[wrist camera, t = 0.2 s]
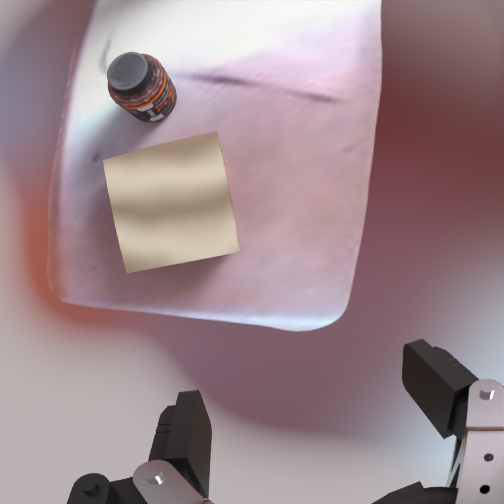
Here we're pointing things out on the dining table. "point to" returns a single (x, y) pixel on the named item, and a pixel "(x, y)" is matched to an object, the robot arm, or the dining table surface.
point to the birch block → (171, 203)
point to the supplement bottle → (141, 86)
